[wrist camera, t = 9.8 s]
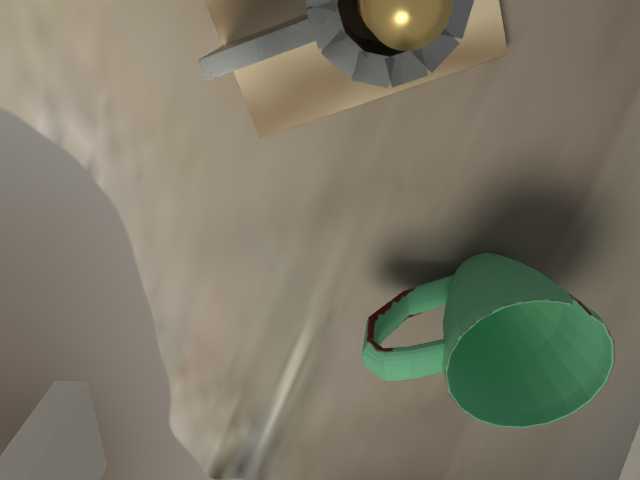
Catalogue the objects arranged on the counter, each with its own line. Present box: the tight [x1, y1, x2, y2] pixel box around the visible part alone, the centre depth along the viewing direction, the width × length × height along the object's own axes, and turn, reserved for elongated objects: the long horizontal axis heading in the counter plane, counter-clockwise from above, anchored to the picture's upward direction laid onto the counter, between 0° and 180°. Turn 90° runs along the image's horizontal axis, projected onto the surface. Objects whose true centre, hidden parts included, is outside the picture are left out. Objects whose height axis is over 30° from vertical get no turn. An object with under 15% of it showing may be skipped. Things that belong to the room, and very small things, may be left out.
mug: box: [362, 253, 614, 428], centre depth 35 cm, size 15×10×10 cm
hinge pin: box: [353, 0, 453, 51], centre depth 23 cm, size 3×3×13 cm
